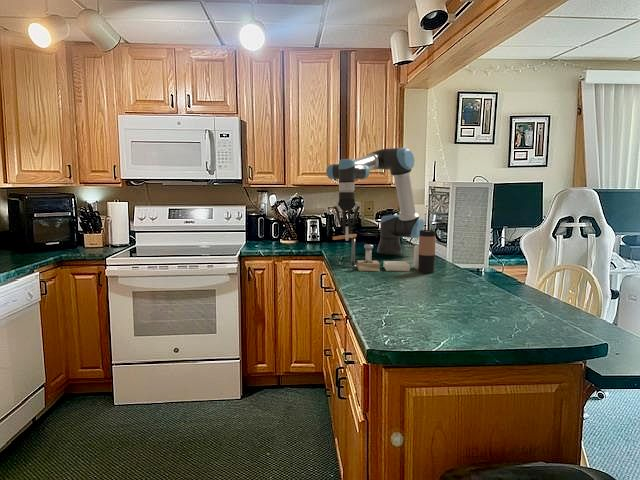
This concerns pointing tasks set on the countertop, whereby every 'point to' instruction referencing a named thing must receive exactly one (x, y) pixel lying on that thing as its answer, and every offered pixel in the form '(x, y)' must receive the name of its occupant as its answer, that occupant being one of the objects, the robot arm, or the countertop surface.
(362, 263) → the block
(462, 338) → the countertop surface
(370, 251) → the pin
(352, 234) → the bar
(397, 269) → the tray
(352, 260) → the keeper post
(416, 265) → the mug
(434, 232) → the travel mug
